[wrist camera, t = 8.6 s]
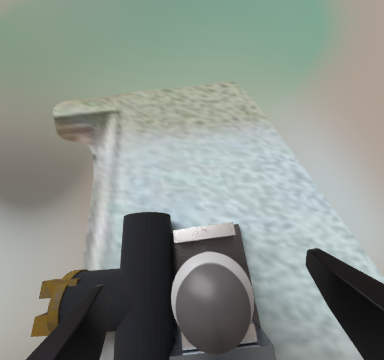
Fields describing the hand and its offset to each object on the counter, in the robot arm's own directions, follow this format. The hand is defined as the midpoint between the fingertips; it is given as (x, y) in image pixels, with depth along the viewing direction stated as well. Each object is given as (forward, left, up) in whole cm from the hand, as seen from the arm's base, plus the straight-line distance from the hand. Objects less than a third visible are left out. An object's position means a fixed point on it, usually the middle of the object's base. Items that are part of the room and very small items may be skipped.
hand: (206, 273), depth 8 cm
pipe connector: (-2, +10, -13) cm, 17 cm away
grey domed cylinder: (-2, 0, -12) cm, 12 cm away
